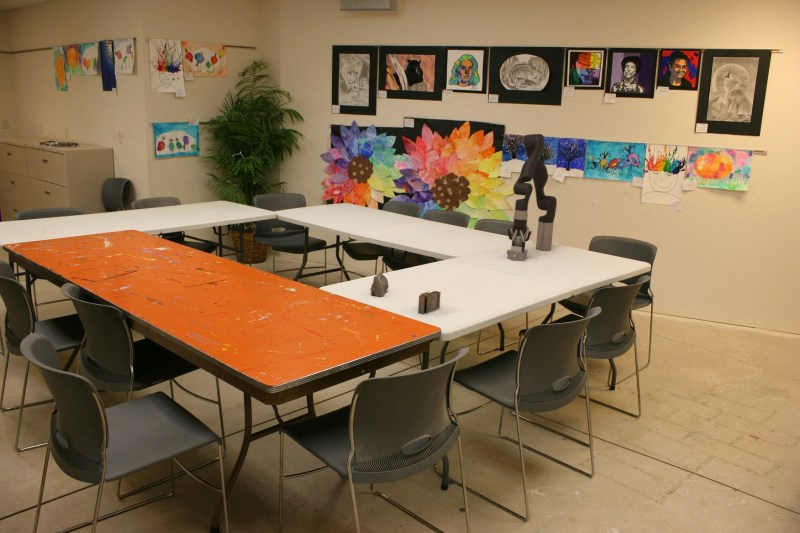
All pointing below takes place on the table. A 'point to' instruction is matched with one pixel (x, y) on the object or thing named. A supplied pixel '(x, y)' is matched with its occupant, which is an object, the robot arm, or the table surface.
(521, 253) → the motor
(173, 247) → the table surface
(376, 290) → the mineral rock
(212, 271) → the table surface
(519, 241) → the pump
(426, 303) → the brown flat block
